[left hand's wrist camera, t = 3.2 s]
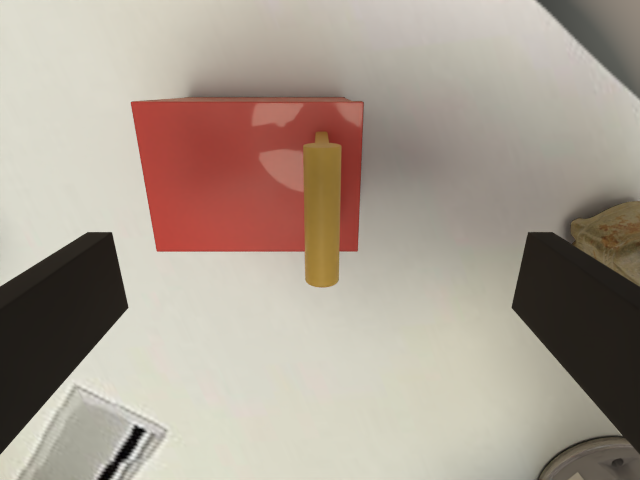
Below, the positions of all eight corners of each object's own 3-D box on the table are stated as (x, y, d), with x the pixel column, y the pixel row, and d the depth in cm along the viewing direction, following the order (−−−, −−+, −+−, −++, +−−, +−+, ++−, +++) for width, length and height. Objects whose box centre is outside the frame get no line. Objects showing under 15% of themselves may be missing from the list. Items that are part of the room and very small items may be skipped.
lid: (362, 101, 23) (385, 108, 15) (356, 246, 26) (372, 315, 18) (137, 101, 23) (39, 108, 15) (161, 246, 26) (93, 315, 18)
